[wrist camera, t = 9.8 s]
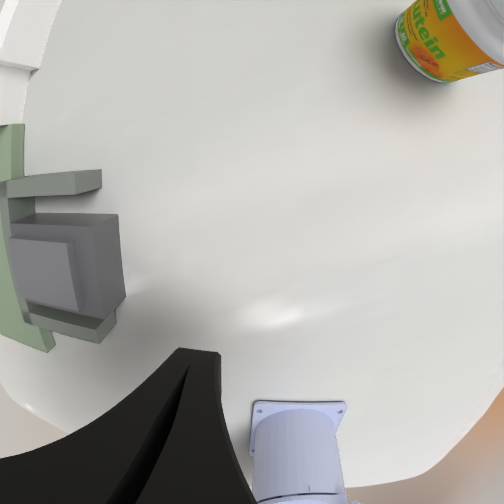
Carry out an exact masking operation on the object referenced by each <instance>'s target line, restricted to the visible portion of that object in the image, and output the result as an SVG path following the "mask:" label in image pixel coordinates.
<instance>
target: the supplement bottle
mask: <svg viewBox="0 0 504 504" xmlns="http://www.w3.org/2000/svg"><path fill="white" fill-rule="evenodd" d="M395 34H396V39H397V43H398V45H399V47H400V49H401V51H402V53H403V55H404V56H405V58H406V59H407V60H408V62H409V63H410V64H411V65H412V66H413V67H414V68H415V69H416V70H417V71H418V72H420V73H421V74H423V75H424V76H426V77H427V78H429V79H431V80H434V81H438V82H453V81H457V80H460V79H464V78H467V77H471V76H474V75H478V74H482V73H486V72H490V71H494V70H498V69H502V68H504V0H416V1H415V2H414V3H413V4H412V5H411V6H410V7H408V8H407V9H406V10H405V11H404V12H403V13H402V14H401V15H400V17H399V18H398V20H397V22H396V26H395Z"/></svg>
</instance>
